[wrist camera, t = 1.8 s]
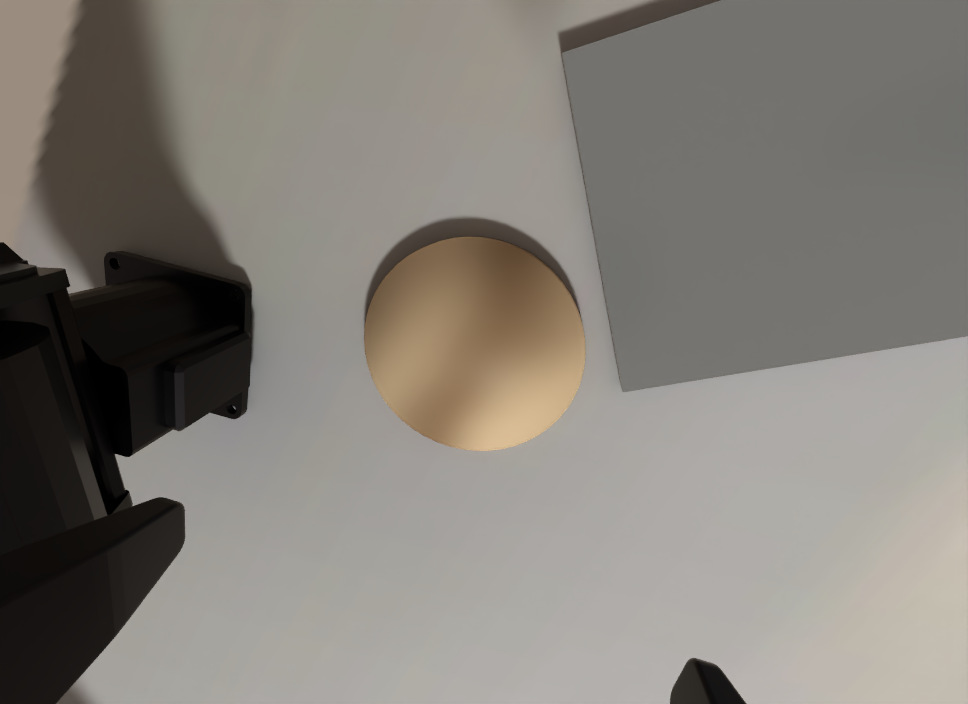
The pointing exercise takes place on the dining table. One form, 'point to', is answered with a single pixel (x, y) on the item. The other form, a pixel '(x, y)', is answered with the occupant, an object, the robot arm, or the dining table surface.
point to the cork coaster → (475, 343)
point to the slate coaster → (776, 182)
